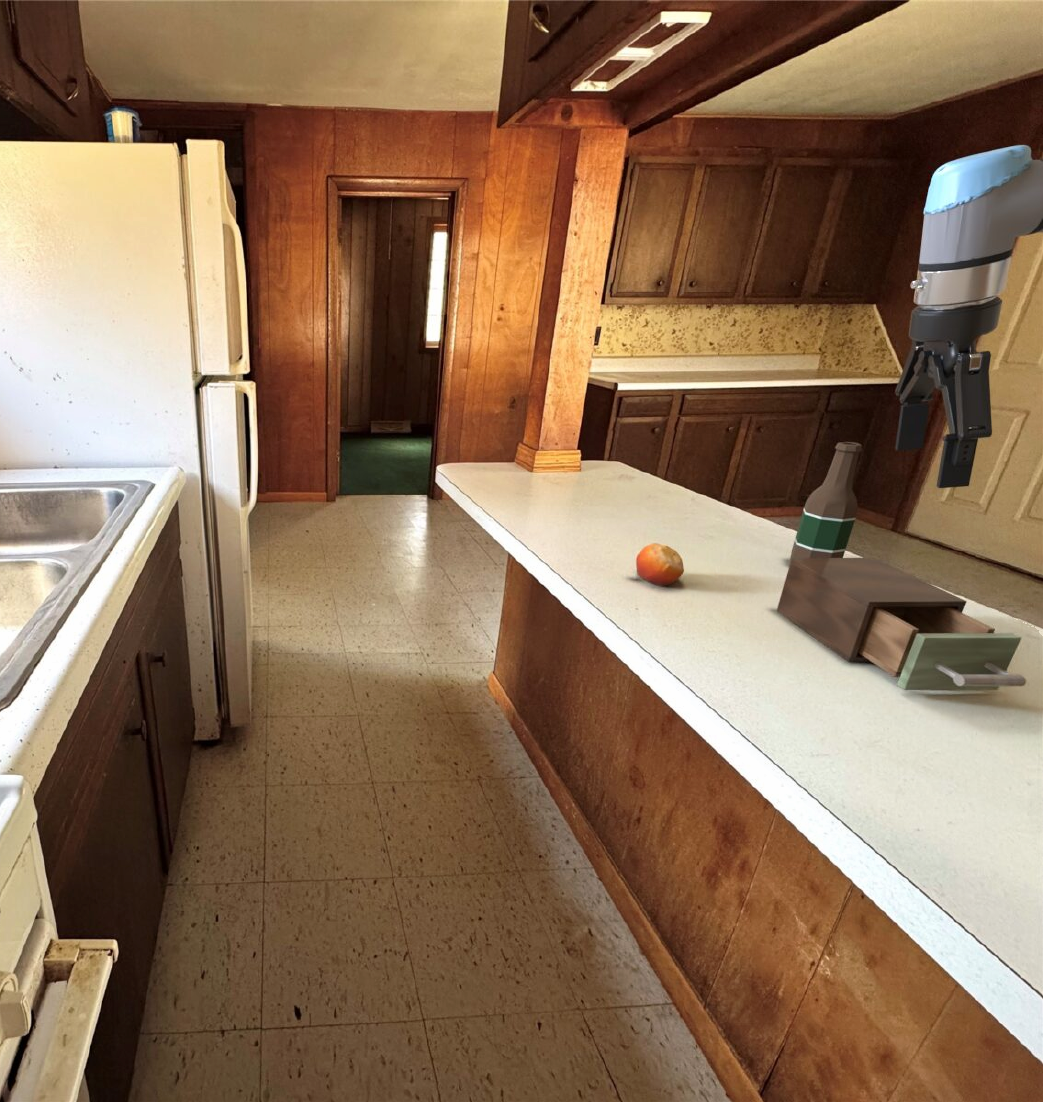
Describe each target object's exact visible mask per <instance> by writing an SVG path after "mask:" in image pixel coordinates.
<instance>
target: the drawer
mask: <svg viewBox="0 0 1043 1102" xmlns="http://www.w3.org/2000/svg"><path fill="white" fill-rule="evenodd" d="M995 631H996V629H995V628H994V627H991V625H987V624H986V623H984V622H982V621H980V620H978V619H976V618H974V617H972V616H970V615H967V614H965V613H964V612H962V613H961V612H959V611H957V610H955V609H953V608H951V607H949V606H947V607H873V610H872V613H871V615H870V618H869V621H868V624H867V627H866V630H865V632H864V635H863V638H862V641H861V644H860V647H859V650H858V653H859V654H861V655H862V656H864V657H865V658H867V659H868V660H870V661H871V662H870V663H872V664H874V665H876V666H877V667H878V668H880V669H882V670H883V671H885V672H886V673H888V674H889V675H891V676H892V677H894V678H898V681H897V683H896V685H897V686H898V687H899V688H900V689H902V690H904V691H998V690H999V689H1000V687H1024V686H1026V683H1027V679H1026V677H1024V676H1023V675H1021V674H1013V673H1010V672H1008V670H1009V669H1008V668H1009V667H1010V664H1011V662H1012V660H1013V658H1014V656H1015V653H1016V651H1017V649H1018V647H1019V645H1020V642H1021V641H1022V637H1021V636H1019V635H1018V634H1015V633H1013V632H1001V633H999V632H995Z"/></svg>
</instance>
